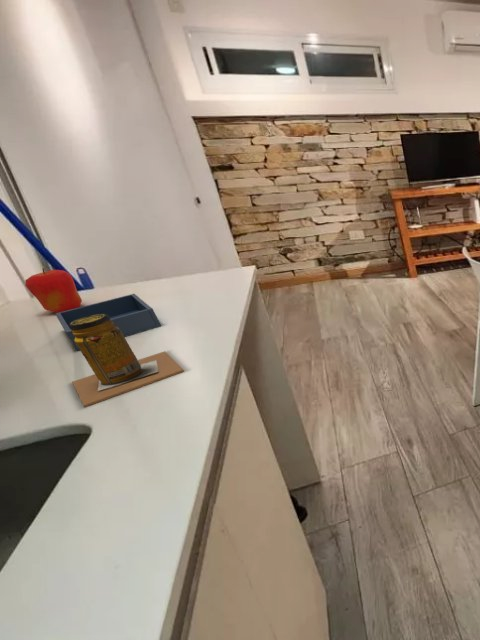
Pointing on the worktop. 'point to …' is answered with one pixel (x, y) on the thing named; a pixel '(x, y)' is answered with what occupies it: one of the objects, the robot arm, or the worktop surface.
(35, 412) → the worktop surface
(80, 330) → the condiment
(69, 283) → the apple
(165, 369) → the mat
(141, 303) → the bin
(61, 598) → the worktop surface
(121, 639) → the worktop surface
